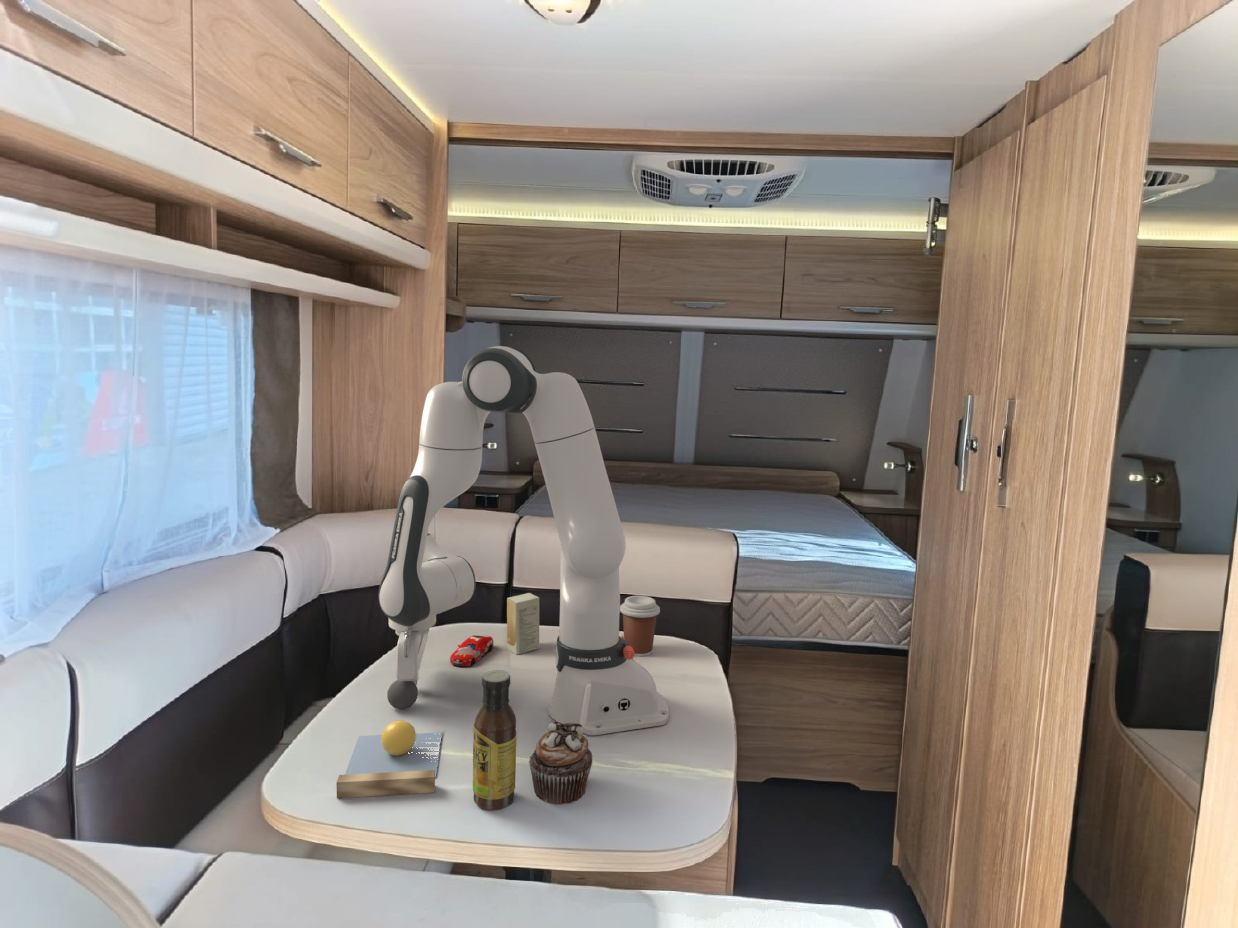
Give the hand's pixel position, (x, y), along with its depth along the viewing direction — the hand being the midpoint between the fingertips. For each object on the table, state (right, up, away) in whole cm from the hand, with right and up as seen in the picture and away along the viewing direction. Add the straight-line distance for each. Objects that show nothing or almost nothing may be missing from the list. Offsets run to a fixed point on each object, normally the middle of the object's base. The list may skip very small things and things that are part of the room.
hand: (413, 683), depth 146 cm
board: (+4, -5, -23) cm, 24 cm away
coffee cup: (+45, 0, +24) cm, 51 cm away
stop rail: (+5, -7, -33) cm, 34 cm away
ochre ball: (+4, -2, -23) cm, 23 cm away
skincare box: (+18, +1, +23) cm, 30 cm away
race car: (+8, 0, +19) cm, 20 cm away
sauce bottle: (+22, -8, -34) cm, 41 cm away
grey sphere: (0, 0, -7) cm, 7 cm away
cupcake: (+31, -8, -31) cm, 44 cm away
